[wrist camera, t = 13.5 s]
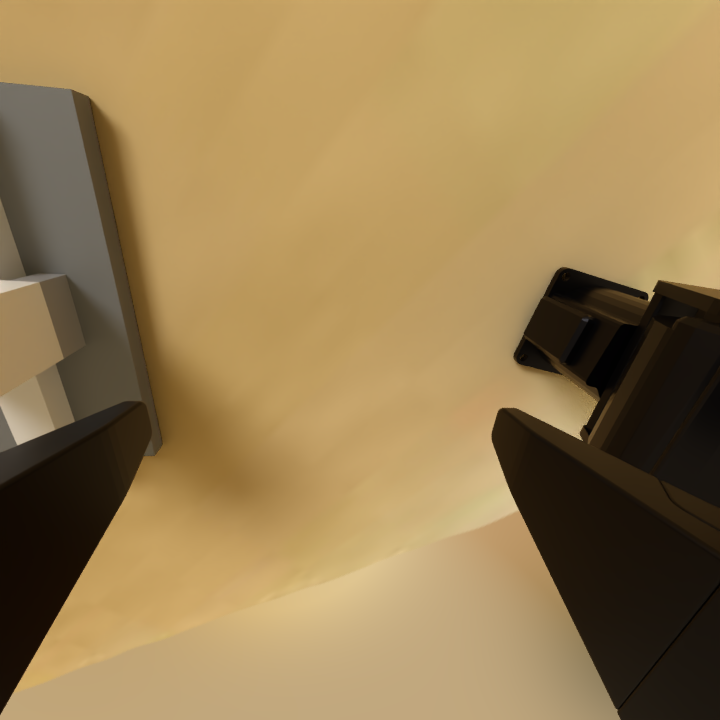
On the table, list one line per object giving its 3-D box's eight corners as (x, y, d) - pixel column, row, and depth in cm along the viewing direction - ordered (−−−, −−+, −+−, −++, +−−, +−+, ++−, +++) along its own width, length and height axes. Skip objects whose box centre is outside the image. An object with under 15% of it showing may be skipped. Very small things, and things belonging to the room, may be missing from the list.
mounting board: (-186, 69, 15) (-287, 44, 12) (88, 96, 16) (44, 78, 13) (-9, 442, 23) (-49, 471, 21) (162, 444, 24) (143, 471, 22)
